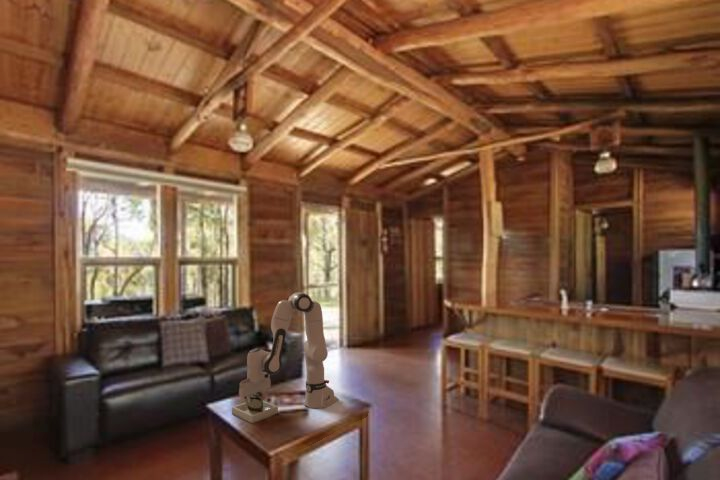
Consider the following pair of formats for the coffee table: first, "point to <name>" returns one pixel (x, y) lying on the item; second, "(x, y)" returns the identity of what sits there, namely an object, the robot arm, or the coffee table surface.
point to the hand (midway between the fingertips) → (255, 400)
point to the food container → (255, 402)
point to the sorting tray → (253, 416)
